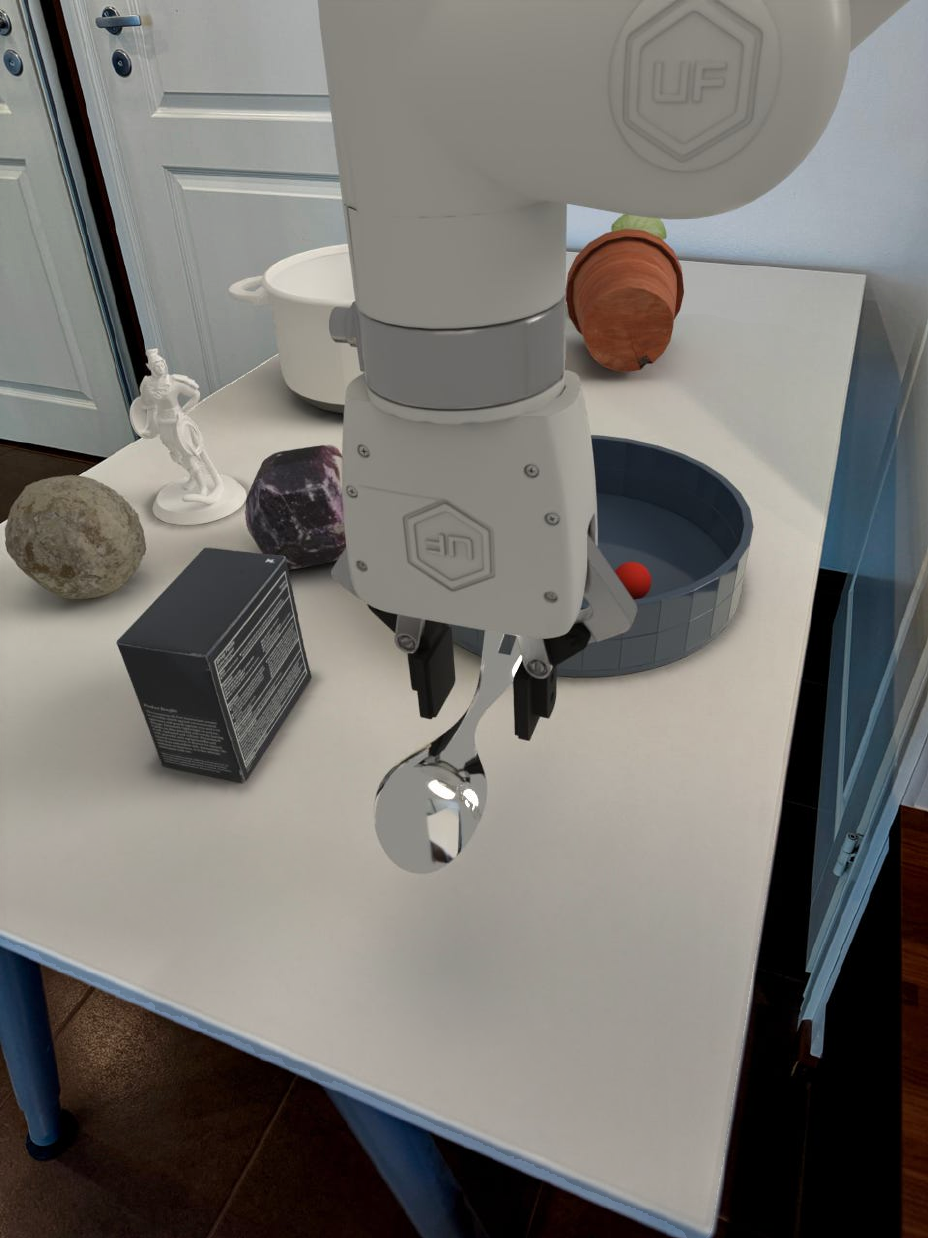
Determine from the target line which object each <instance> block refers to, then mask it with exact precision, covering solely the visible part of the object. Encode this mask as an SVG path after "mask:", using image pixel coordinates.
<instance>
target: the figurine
mask: <svg viewBox="0 0 928 1238" xmlns="http://www.w3.org/2000/svg"><path fill="white" fill-rule="evenodd" d="M145 356H146V357H147V358H148V362H147V363H145V366H146V367H147V369H148V370H149V371H150V372H151V375H144V377H143V379H142V381H141V383H140V384H139V385H140V386H139V392H140V396H137V397H135V399H134V400H133V401H132V402H131V405H130V408H129V421H130V424H131V427H132V429H133V431H134V432H135V433H136V435H137V436H138V437H140V438H142V439H144V440H153V439H155V438H157V436H158V435H159V440H160V441H161V443H162V445H163V446H165V447H166V448H167V449H168V450H169V456H170V459H171V460H172V461H173V462H174V463H175V464H177V465H178V466H180V467H182V468H183V469H185V471H186V472H187V473H188V475H187V476H184V477H181V478H178V479H176V480H174V481H171V482H170V483H167V484H166V485H165V486H164V487H162V488H161V489H160V490H159V492H158V493H157V495H156V497H155V500H154V502H153V504H152V513H153V515H154V516H155V517H156V518H157V519H158V520H160V521H162V522H165V523H167V524H172V525H176V526H177V525H178V526H194V525H203V524H207V523H210V522H215V521H218V520H221V519H224V518H226V517H228V516H230V515H233V513H235V512H236V511H238V510H239V509H240V508H241V507H242V506H243V505H244V503H246V499H247V496H248V493H247V491H246V489H245V487H244V486H242V485H241V484H240V483H239V482H238V481H236V480H235V478H233V477H231V476H230V475H229V476H228V475H226V474H221V473H219V472H218V469H217V468H216V466H215V465H214V462H213V461H212V460H211V457H210V456H209V454H208V452H207V451H206V449H205V447H204V437H203V435H202V432H201V430H200V428H199V427H198V425H197V424H196V422H195V421H193V420H192V419H191V417H190V416H189V415H188V414H190V413H191V412H193V411H194V410H195V409H196V405H197V404H198V403H199V401H200V399H201V392H200V391H199V390H198V389H200V385H199V384H198V383H197V382H196V381H195V379H192V378H189V377H188V376H187V375H183V374H177V373H173V374H170V373H169V371H168V364H167V362H166V361H167V360H166V359H165V358H163V357H162V356H161V355H159V349H158V348H157V347H156V348H155V347H154V348H150V349H147V350H146V351H145ZM181 394H182V396H183V395H184V396H186V397H188V398H190V399H188V401H187V402H186V403H185V404H184V405H183V406H181V405H180V402H179V395H181ZM194 447H195V449H194ZM196 459H197V460H198V461H199V462H201V463H203V465H204V466H205V468H206V470H207V472H208V473H203V469H202V468H203V465H202V464H201V463H199V462H197V461H196Z"/></svg>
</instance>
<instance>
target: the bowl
mask: <svg viewBox="0 0 928 1238" xmlns="http://www.w3.org/2000/svg"><path fill="white" fill-rule="evenodd" d="M591 442H592V450H593V459H594V469H595V481H596V498H597V523H598V548H599V550H600V551H601V553H602V554H603V556H604V557H605V558H606V560H607V561H608V563H609V564H610V566H611V567H612V569H613V570H614V572H615V570H616V569H617V568H618V567H619V566H620V565H622V564H624V563H627V562H636V563H639V564H641V565H643V566H644V567H645V568H647V570H648V571H649V573H650V575H651V587H650V590H649V592H648V593H647V594H646V595H645V596H644V597H643V598H641V599H635V600H634V601H635V603H636V605H637V612H636V615H635V618H634V621H633V623H632V626H631V628H630V630H628V631H626V632H624V633H621V634H619V635H616V636H613V637H610V638H608V639H605V640H602V641H599V642H597V641H595V642H592V643H589V644H587V647H586V648H585V649H584V650H582V651H580V652H579V653H577V654H575V655H573V656H572V657H570V658H568V659H567V660H565V661H563V662H562V663H560V664H558V665H557V677H558V676H560V677H571V678H572V677H574V678H583V677H584V678H589V677H590V678H596V677H597V678H599V677H610V676H619V675H620V676H622V675H628V674H633V673H639V672H644V671H648V670H653V669H655V668H659V667H662V666H665V665H669V664H672V663H674V662H676V661H679V660H681V659H683V658H685V657H688V656H690V655H691V654H693V653H695V652H697V651H699V650H700V649H702V648H704V647H706V645H708V644H709V643H710V642H711V641H713V640H715V638H717V637H718V636H719V635H720V634H721V633H722V631H724V629H725V628H726V627H727V626H728V625H729V623H730V622H731V620H732V619H733V617H734V615H735V614H736V611H737V609H738V606H739V603H740V600H741V595H742V589H743V585H744V581H745V575H746V570H747V564H748V559H749V553H750V549H751V544H752V543H751V542H752V538H753V533H754V522H753V515H752V511H751V507H750V506H749V504H748V502H747V500H746V499H745V497H744V495H743V494H742V492H741V491H740V490H739V489H738V488H737V487H736V486H735V485H734V484H733V483H732V482H731V481H730V479H728V478H727V477H726V476H724V475H723V474H721V473H720V472H718V471H717V470H715V469H713V468H712V467H711V466H709V465H707V463H704V462H702V461H700V460H697V459H696V458H693V457H691V456H689V455H687V454H685V453H683V452H680V451H677V450H673V449H670V448H668V447H664V446H662V445H659V444H654V443H650V442H644V441H640V440H635V439H630V438H626V437H625V438H624V437H618V436H617V437H616V436H610V435H600V434H591ZM581 607H582V608H588V607H589V603H588V602H587V601H586V599H585V598H584V596H583V600H582V605H581ZM449 626H450V627H451V628H452V640H453V643H456V645H459V646H460V647H462V649H464V650H467V651H469V652H471V653H473V654H475V655H477V656H479V657H481V658H482V652H483V643H484V635H485V630H480V629H474V628H469V627H463V626H458V625H452V624H449ZM515 640H516V636H514V635H508V634H505V636H504V639H503V642H502V645H501V648H500V650H499V653H501V654H507V655H510V654H511V652H512V649H513V646H514V643H515Z"/></svg>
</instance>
